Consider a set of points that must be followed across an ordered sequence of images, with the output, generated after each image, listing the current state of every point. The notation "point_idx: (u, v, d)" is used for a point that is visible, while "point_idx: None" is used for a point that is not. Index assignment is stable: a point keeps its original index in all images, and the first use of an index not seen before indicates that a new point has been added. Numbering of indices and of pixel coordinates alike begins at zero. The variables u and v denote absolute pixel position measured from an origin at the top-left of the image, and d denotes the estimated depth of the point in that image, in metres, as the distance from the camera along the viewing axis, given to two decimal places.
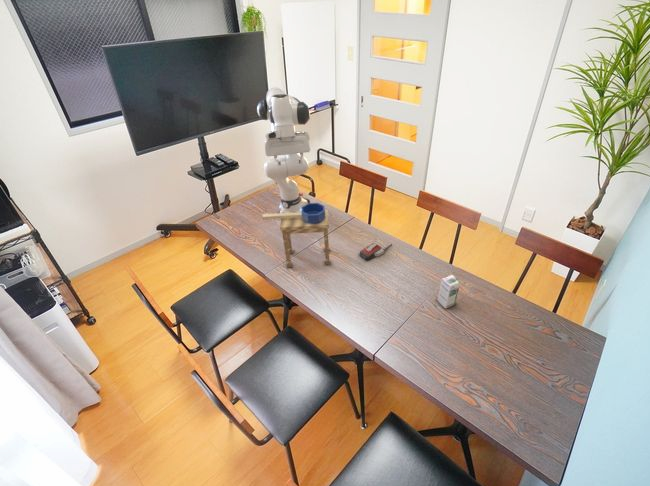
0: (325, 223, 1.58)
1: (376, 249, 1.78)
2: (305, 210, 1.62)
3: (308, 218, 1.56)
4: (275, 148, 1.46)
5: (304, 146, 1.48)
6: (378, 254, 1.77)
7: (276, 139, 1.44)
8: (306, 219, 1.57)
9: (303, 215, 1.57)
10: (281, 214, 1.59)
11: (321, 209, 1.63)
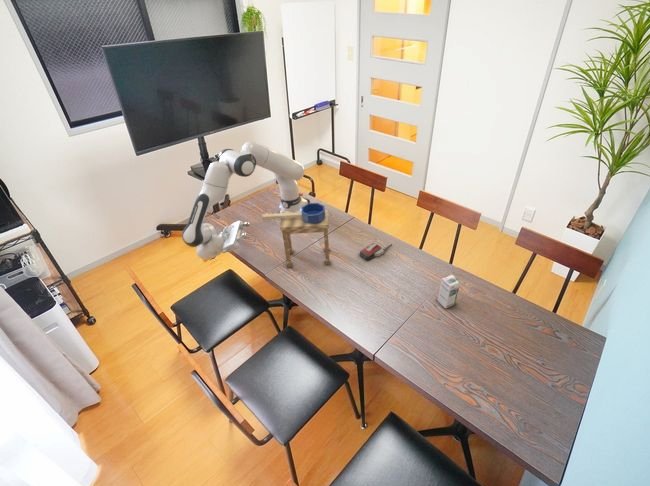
0: (325, 223, 1.58)
1: (376, 249, 1.78)
2: (305, 210, 1.62)
3: (308, 218, 1.56)
4: None
5: None
6: (378, 254, 1.77)
7: None
8: (306, 219, 1.57)
9: (303, 215, 1.57)
10: (281, 214, 1.59)
11: (321, 209, 1.63)
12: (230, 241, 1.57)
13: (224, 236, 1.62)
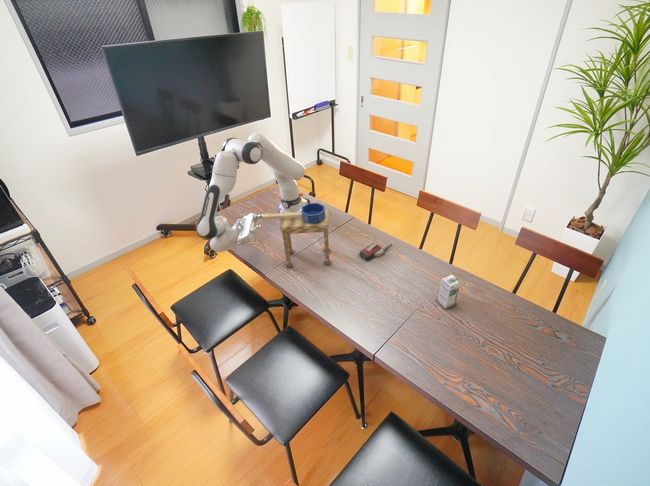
0: (325, 223, 1.58)
1: (376, 249, 1.78)
2: (305, 210, 1.62)
3: (308, 218, 1.56)
4: None
5: None
6: (378, 254, 1.77)
7: None
8: (306, 219, 1.57)
9: (303, 215, 1.57)
10: (281, 214, 1.59)
11: (321, 209, 1.63)
12: (244, 233, 1.55)
13: (238, 228, 1.60)
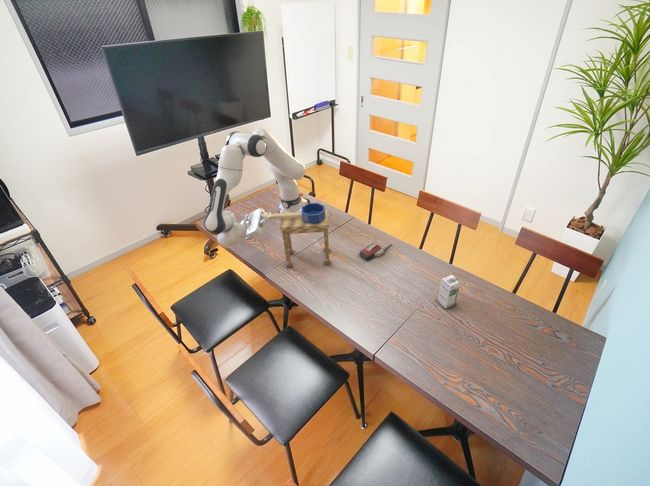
0: (325, 223, 1.58)
1: (376, 249, 1.78)
2: (305, 210, 1.62)
3: (308, 218, 1.56)
4: None
5: None
6: (378, 254, 1.77)
7: None
8: (306, 219, 1.57)
9: (303, 215, 1.57)
10: (281, 214, 1.59)
11: (321, 209, 1.63)
12: (253, 228, 1.54)
13: (246, 223, 1.59)
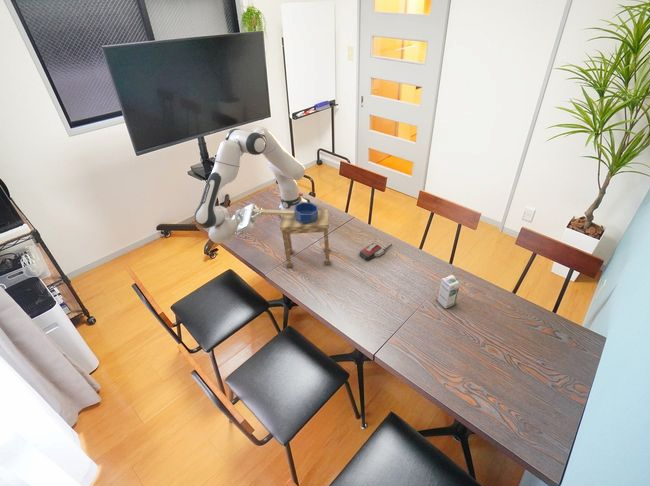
0: (325, 223, 1.58)
1: (376, 249, 1.78)
2: (298, 209, 1.61)
3: (301, 217, 1.55)
4: None
5: None
6: (378, 254, 1.77)
7: None
8: (298, 218, 1.56)
9: (296, 214, 1.56)
10: (273, 211, 1.57)
11: (314, 209, 1.62)
12: (244, 223, 1.52)
13: (237, 218, 1.57)
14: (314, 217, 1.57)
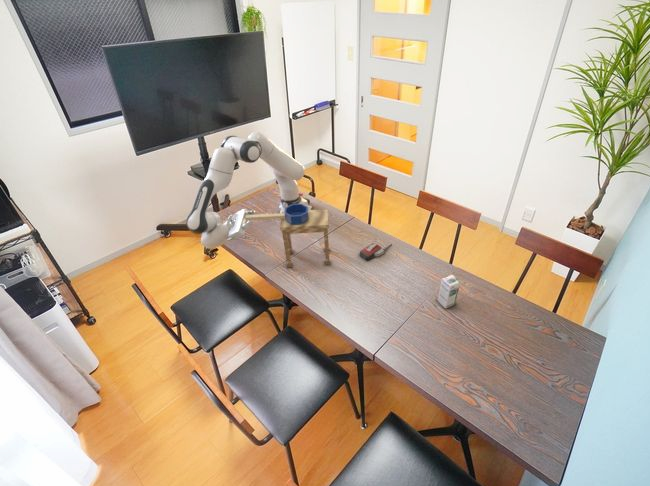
0: (325, 223, 1.58)
1: (376, 249, 1.78)
2: (289, 211, 1.62)
3: (291, 219, 1.55)
4: None
5: None
6: (378, 255, 1.77)
7: None
8: (289, 220, 1.56)
9: (286, 216, 1.56)
10: (264, 215, 1.58)
11: (305, 210, 1.62)
12: (235, 229, 1.53)
13: (229, 224, 1.58)
14: (305, 218, 1.57)
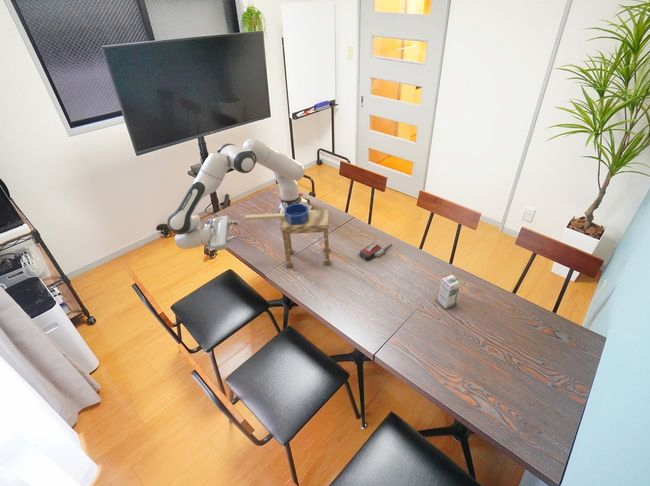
0: (325, 223, 1.58)
1: (376, 249, 1.78)
2: (289, 211, 1.62)
3: (291, 219, 1.55)
4: None
5: None
6: (378, 255, 1.77)
7: None
8: (289, 220, 1.56)
9: (286, 216, 1.56)
10: (264, 215, 1.58)
11: (305, 210, 1.62)
12: (219, 240, 1.56)
13: (211, 232, 1.59)
14: (305, 218, 1.57)
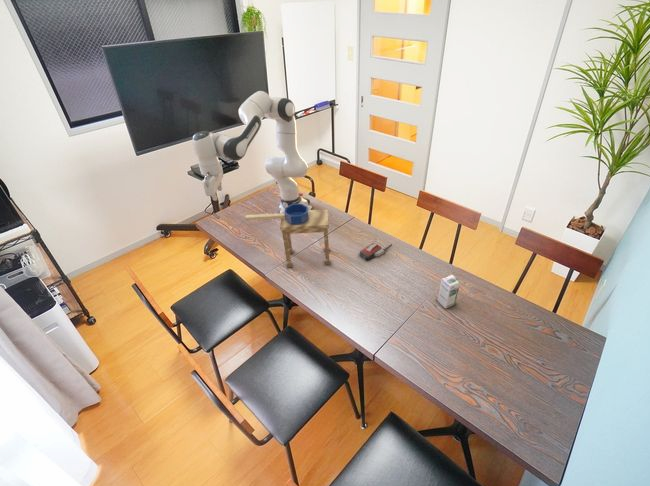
0: (325, 223, 1.58)
1: (376, 249, 1.78)
2: (289, 211, 1.62)
3: (291, 219, 1.55)
4: None
5: None
6: (378, 255, 1.77)
7: None
8: (289, 220, 1.56)
9: (286, 216, 1.56)
10: (264, 215, 1.58)
11: (305, 210, 1.62)
12: (214, 188, 1.48)
13: (217, 173, 1.50)
14: (305, 218, 1.57)
